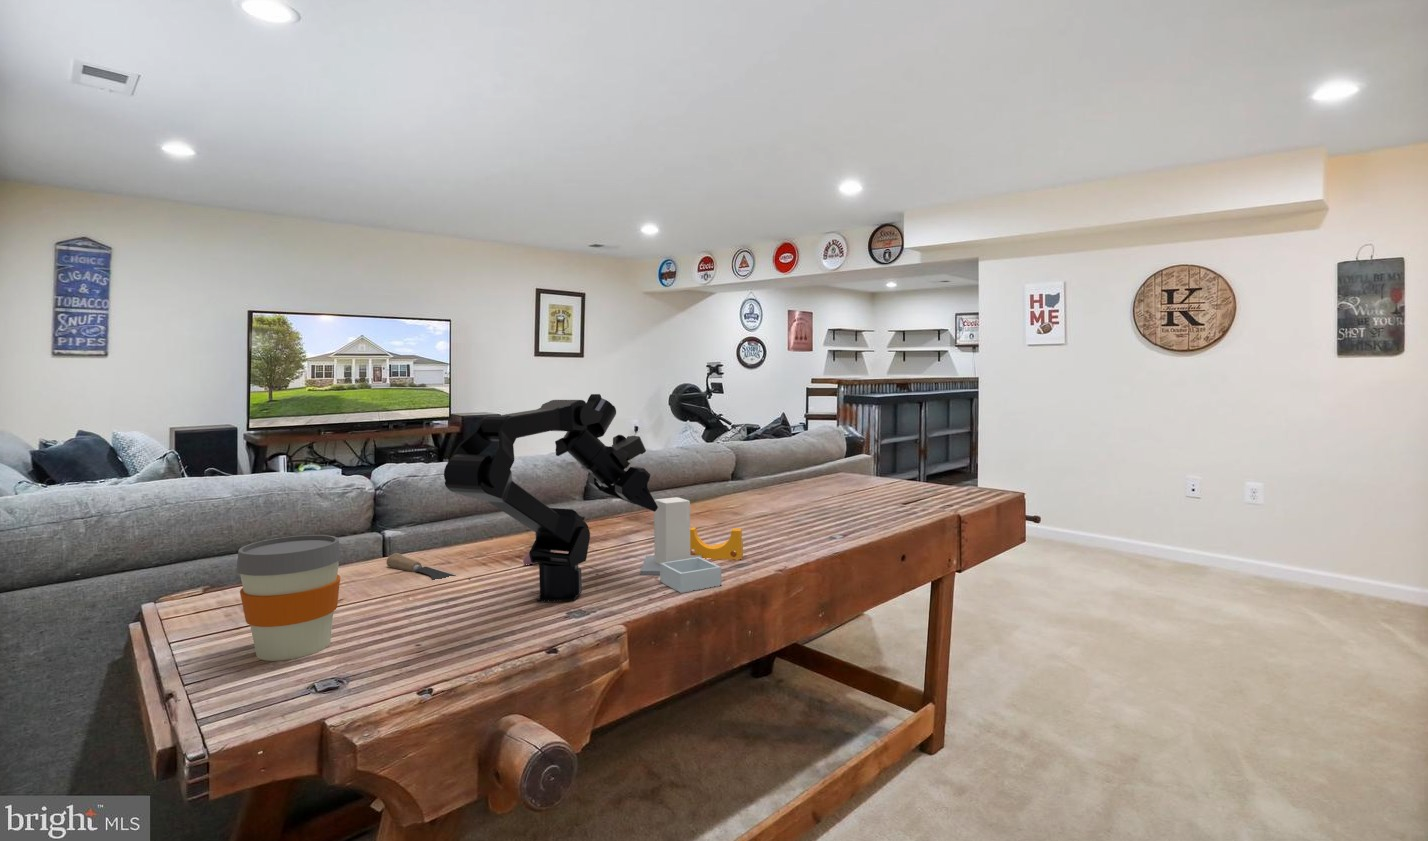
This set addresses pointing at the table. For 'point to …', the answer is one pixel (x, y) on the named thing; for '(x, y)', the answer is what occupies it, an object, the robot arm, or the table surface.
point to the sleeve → (690, 574)
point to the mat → (654, 565)
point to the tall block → (672, 530)
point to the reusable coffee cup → (290, 594)
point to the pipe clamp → (718, 546)
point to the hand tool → (414, 566)
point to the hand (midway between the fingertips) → (646, 505)
